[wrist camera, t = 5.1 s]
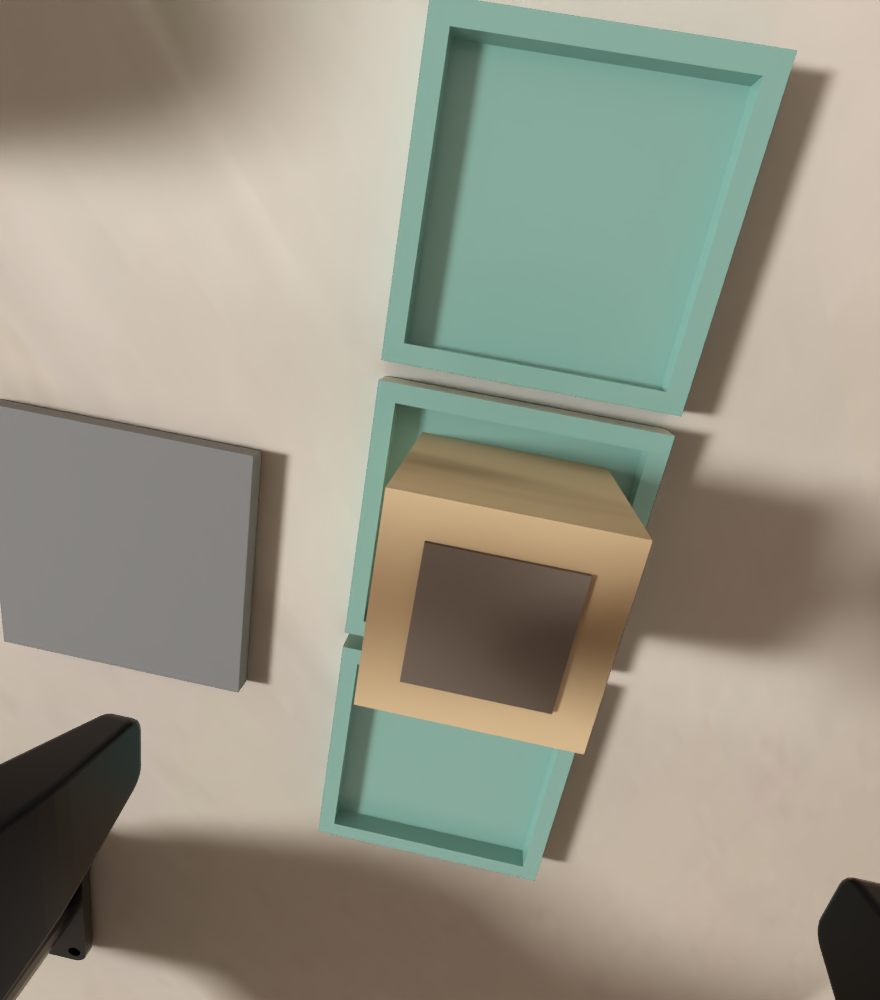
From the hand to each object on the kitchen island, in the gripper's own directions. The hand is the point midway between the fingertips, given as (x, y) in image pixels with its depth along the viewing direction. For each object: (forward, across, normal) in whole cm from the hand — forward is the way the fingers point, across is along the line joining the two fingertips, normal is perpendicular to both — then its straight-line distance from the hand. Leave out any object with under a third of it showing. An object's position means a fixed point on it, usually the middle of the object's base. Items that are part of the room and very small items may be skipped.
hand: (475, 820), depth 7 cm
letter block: (+9, 0, 0) cm, 9 cm away
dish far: (+10, 0, +8) cm, 13 cm away
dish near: (+10, 0, -8) cm, 13 cm away
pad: (+10, +11, +3) cm, 15 cm away
